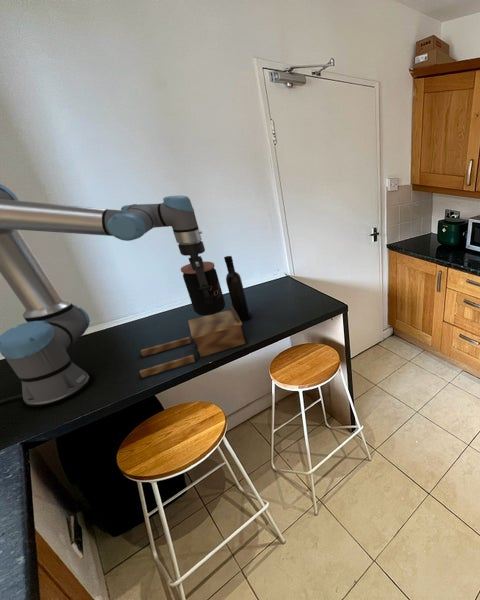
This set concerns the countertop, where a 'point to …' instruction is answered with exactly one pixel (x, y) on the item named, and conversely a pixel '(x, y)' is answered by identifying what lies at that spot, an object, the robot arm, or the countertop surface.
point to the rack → (202, 339)
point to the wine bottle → (236, 290)
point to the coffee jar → (196, 294)
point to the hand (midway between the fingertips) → (207, 298)
